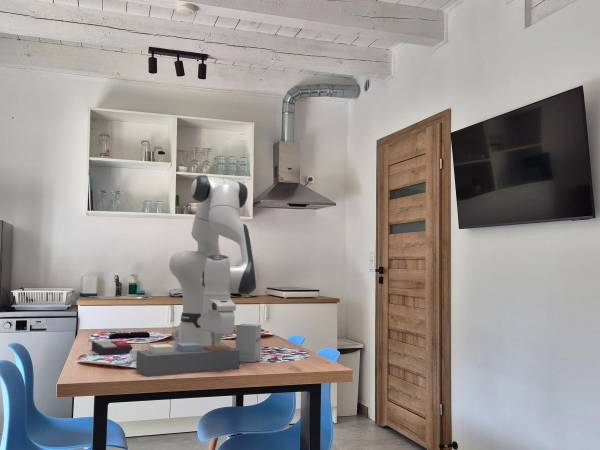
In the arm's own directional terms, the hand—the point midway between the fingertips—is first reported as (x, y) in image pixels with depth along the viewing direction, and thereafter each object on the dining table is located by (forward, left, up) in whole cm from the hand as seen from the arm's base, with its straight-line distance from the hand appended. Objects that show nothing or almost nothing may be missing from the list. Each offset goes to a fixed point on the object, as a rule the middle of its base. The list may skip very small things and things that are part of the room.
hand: (215, 346), depth 186 cm
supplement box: (-8, +16, -7) cm, 19 cm away
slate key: (0, -9, -3) cm, 10 cm away
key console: (0, -9, -7) cm, 11 cm away
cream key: (0, -18, -3) cm, 18 cm away
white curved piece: (-22, -20, -8) cm, 31 cm away
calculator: (-48, -22, -7) cm, 53 cm away
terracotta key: (0, 0, -4) cm, 4 cm away
